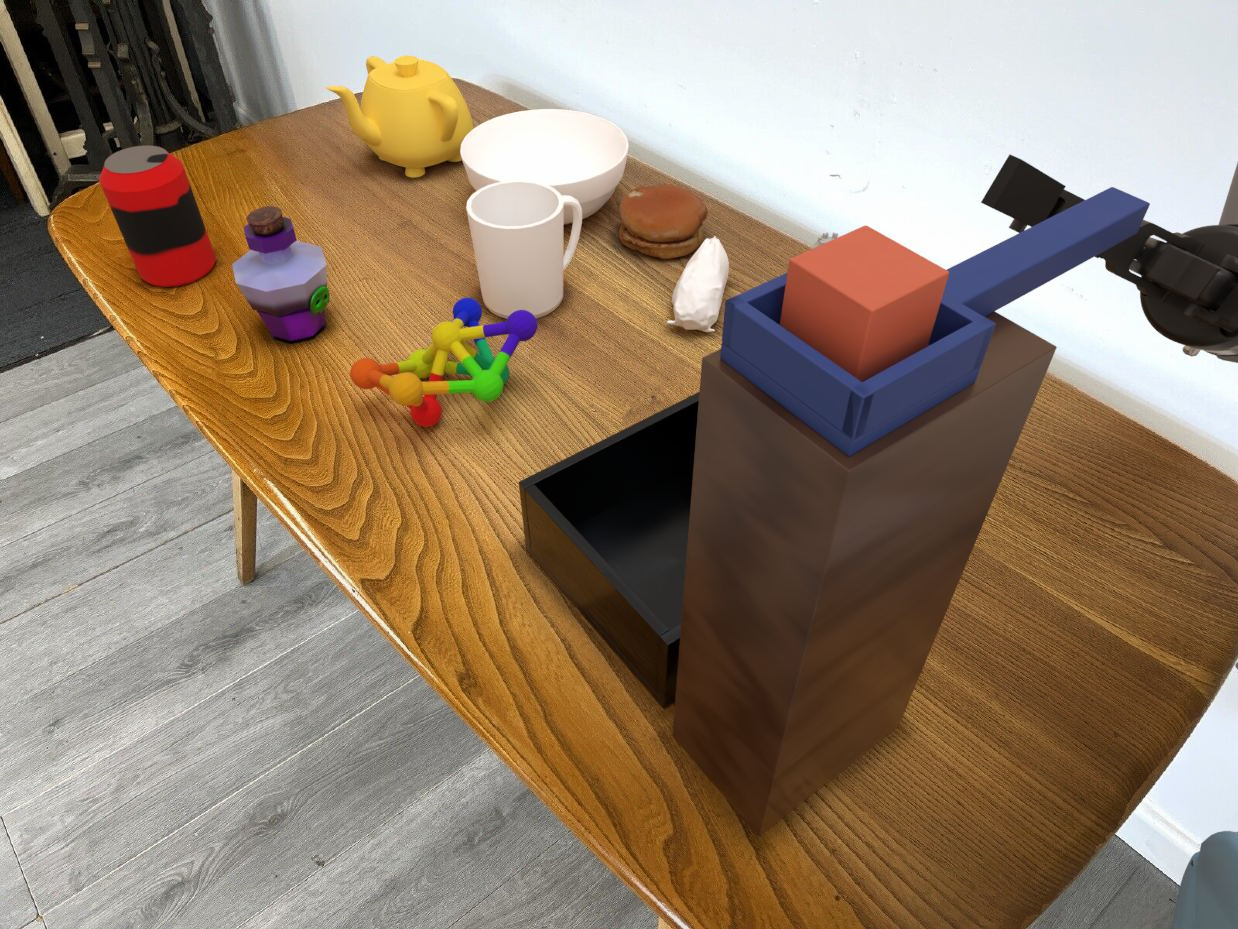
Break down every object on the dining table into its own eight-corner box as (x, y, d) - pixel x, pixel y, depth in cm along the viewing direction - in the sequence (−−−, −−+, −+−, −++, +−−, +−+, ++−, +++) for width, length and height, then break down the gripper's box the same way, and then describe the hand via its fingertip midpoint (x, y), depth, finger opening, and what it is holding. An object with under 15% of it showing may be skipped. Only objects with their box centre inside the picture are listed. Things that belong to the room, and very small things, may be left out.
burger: (697, 266, 96) (700, 225, 92) (610, 256, 97) (609, 216, 94) (710, 218, 103) (713, 179, 99) (628, 210, 104) (629, 171, 101)
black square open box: (845, 587, 66) (864, 519, 61) (664, 710, 59) (668, 645, 54) (697, 457, 76) (702, 389, 70) (525, 550, 69) (518, 481, 63)
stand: (899, 726, 58) (1057, 346, 37) (758, 837, 53) (849, 471, 32) (809, 640, 63) (904, 259, 42) (672, 735, 58) (701, 357, 37)
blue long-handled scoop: (1188, 256, 42) (1216, 200, 40) (848, 457, 33) (863, 397, 31) (1055, 195, 46) (1074, 141, 44) (719, 358, 37) (725, 299, 35)
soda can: (207, 286, 93) (166, 176, 85) (131, 290, 93) (82, 179, 84) (224, 246, 99) (186, 139, 90) (151, 250, 98) (107, 142, 90)
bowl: (514, 266, 96) (508, 203, 91) (441, 193, 107) (432, 132, 102) (659, 218, 103) (661, 156, 98) (577, 153, 114) (575, 95, 109)
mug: (495, 333, 88) (483, 237, 80) (466, 284, 93) (453, 191, 86) (601, 305, 91) (599, 211, 84) (567, 260, 97) (563, 168, 89)
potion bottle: (332, 354, 85) (301, 239, 77) (239, 353, 85) (198, 239, 77) (352, 300, 91) (325, 189, 83) (265, 300, 92) (229, 188, 83)
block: (924, 361, 35) (950, 271, 32) (851, 401, 33) (872, 310, 31) (847, 311, 37) (865, 223, 35) (775, 347, 36) (788, 258, 33)
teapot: (370, 132, 118) (351, 36, 110) (482, 132, 118) (471, 36, 110) (346, 184, 108) (323, 83, 100) (468, 185, 108) (455, 83, 100)
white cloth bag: (673, 291, 95) (662, 328, 86) (690, 228, 91) (682, 260, 83) (719, 304, 95) (713, 342, 86) (738, 241, 91) (735, 274, 83)
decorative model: (328, 353, 79) (470, 258, 82) (381, 428, 84) (512, 335, 88) (379, 405, 69) (537, 295, 72) (435, 486, 74) (579, 380, 78)
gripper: (1381, 447, 54) (1328, 442, 39) (1023, 261, 68) (882, 204, 53) (1480, 335, 51) (1464, 282, 36) (1084, 164, 65) (953, 75, 50)
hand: (1116, 235), depth 45 cm, fingers open, 13 cm apart
